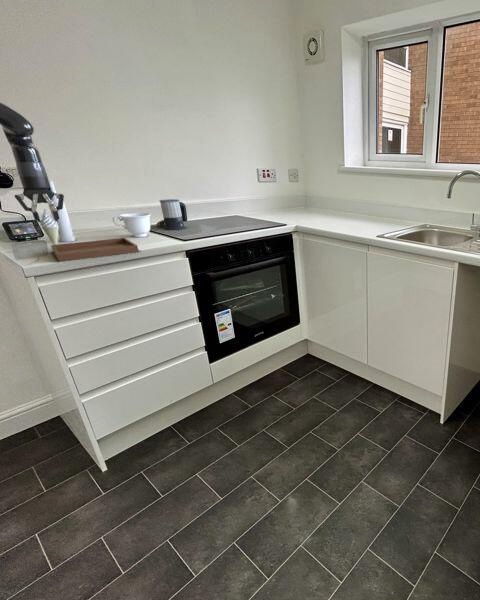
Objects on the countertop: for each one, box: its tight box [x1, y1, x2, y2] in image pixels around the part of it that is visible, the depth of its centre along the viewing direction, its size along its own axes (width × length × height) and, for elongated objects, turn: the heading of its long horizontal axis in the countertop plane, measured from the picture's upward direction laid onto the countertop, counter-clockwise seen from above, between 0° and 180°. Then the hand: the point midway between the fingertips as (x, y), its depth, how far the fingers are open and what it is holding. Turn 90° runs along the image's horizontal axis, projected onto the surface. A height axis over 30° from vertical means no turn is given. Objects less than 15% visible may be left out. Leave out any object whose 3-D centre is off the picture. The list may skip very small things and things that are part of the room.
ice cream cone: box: [39, 208, 59, 245], centre depth 138 cm, size 5×5×15 cm
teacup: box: [112, 212, 152, 238], centre depth 165 cm, size 12×15×10 cm
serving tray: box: [50, 237, 140, 262], centre depth 138 cm, size 24×20×3 cm
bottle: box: [47, 180, 76, 243], centre depth 150 cm, size 5×5×25 cm
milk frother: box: [156, 198, 188, 231], centre depth 188 cm, size 14×16×15 cm
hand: (47, 221), depth 137 cm, fingers closed on ice cream cone, 4 cm apart
